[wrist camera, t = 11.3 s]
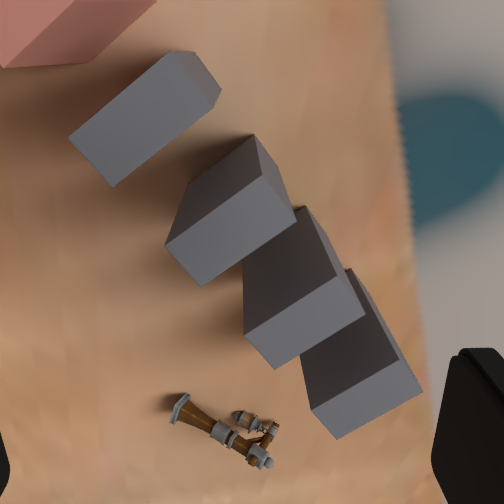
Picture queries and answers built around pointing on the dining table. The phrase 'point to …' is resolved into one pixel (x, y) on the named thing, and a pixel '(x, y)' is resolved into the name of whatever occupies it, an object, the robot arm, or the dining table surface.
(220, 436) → the wooden post with brackets
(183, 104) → the domino
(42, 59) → the domino
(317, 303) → the domino
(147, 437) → the dining table surface
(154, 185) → the dining table surface
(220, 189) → the domino
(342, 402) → the domino
